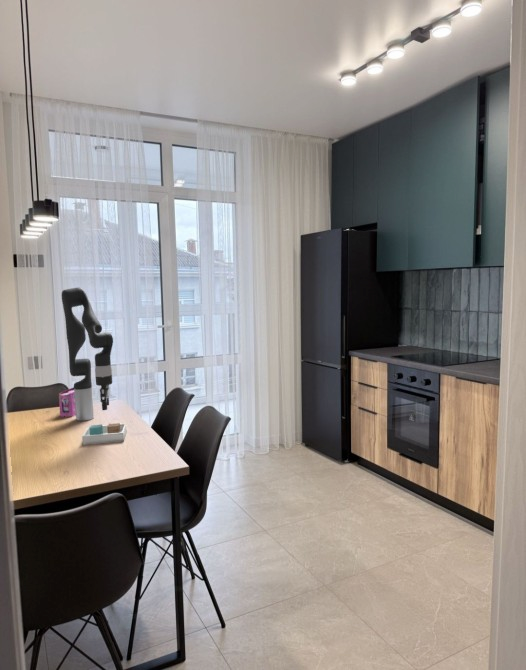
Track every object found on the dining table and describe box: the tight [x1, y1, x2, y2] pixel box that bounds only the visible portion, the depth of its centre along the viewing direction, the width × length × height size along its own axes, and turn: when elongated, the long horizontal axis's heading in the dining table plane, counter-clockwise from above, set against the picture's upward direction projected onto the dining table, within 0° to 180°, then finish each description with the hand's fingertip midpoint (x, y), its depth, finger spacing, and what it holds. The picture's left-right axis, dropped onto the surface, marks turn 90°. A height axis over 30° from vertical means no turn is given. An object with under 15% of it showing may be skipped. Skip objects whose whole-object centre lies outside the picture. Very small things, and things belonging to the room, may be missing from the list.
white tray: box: [81, 423, 128, 446], centre depth 223 cm, size 16×18×4 cm
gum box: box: [58, 386, 76, 418], centre depth 275 cm, size 24×8×14 cm, turn 175°
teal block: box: [89, 424, 103, 435], centre depth 222 cm, size 5×5×5 cm
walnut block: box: [107, 422, 121, 434], centre depth 223 cm, size 5×5×5 cm
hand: (105, 407), depth 227 cm, fingers open, 8 cm apart
